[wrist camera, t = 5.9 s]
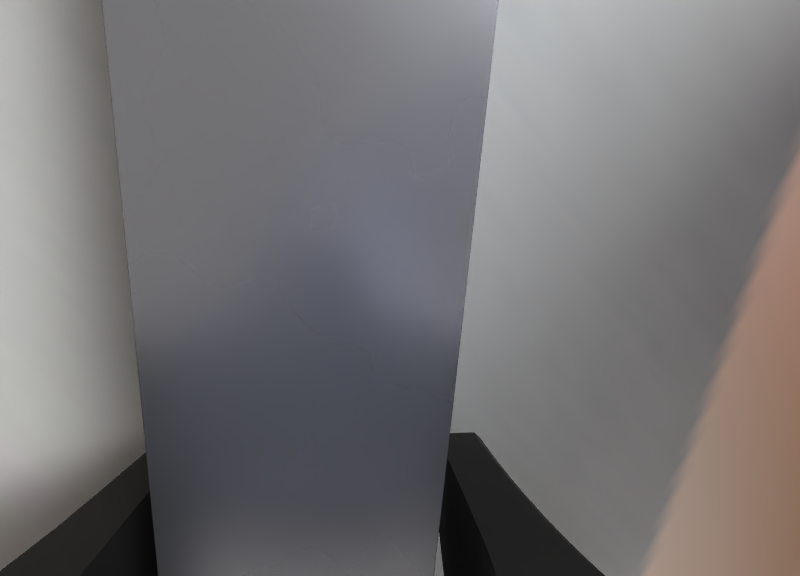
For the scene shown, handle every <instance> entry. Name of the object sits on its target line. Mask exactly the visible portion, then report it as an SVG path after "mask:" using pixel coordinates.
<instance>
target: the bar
mask: <svg viewBox="0 0 800 576" xmlns="http://www.w3.org/2000/svg"><path fill="white" fill-rule="evenodd" d="M102 7H103V17H104V27H105V37H106V48H107V58H108V68H109V78H110V88H111V99H112V109H113V119H114V129H115V139H116V150H117V160H118V170H119V180H120V190H121V201H122V211H123V221H124V231H125V242H126V252H127V262H128V272H129V282H130V293H131V303H132V313H133V323H134V333H135V344H136V354H137V364H138V374H139V384H140V395H141V405H142V415H143V425H144V435H145V446H146V456H147V466H148V476H149V486H150V497H151V507H152V517H153V527H154V538H155V548H156V558H157V568H158V576H434V569H435V560H436V551H437V543H438V534H439V525H440V516H441V507H442V498H443V489H444V480H445V471H446V462H447V454H448V445H449V436H450V427H451V418H452V409H453V400H454V391H455V382H456V374H457V365H458V356H459V347H460V338H461V329H462V320H463V311H464V302H465V293H466V285H467V276H468V267H469V258H470V249H471V240H472V231H473V222H474V213H475V205H476V196H477V187H478V178H479V169H480V160H481V151H482V142H483V133H484V125H485V116H486V107H487V98H488V89H489V80H490V71H491V62H492V53H493V44H494V36H495V27H496V18H497V9H498V0H102Z"/></svg>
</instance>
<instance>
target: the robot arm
mask: <svg viewBox="0 0 800 576" xmlns="http://www.w3.org/2000/svg"><path fill="white" fill-rule="evenodd" d="M439 535H440V544H441V553H442V561H443V570H444V576H605V575H604V574H603V573H601V572H600V571H599V570H598V569H597V568H596V567H595V566H594V565H593V564H592V563H590V562H589V561H588V560H587V559H586V558H585V557H584V556H583V555H582V554H581V553H580V552H579V551H578V550H577V549H576V548H575V547H574V546H573V545H572V544H571V543H570V542H569V541H568V540H567V539H566V538H565V537H564V536H563V535H562V534H561V533H560V532H559V531H558V530H557V529H556V528H555V527H554V526H553V525H552V524H551V523H550V522H549V521H548V520H547V519H546V518H545V517H544V515H543V514H542V513H541V512H540V511H539V510H538V509H537V508H536V507H535V505H534V504H533V503H532V502H531V501H530V500H529V499H528V498H527V496H526V495H525V494H524V493H523V492H522V491H521V490H520V488H519V487H518V486H517V485H516V484H515V483H514V481H513V480H512V479H511V478H510V476H509V475H508V474H507V473H506V472H505V470H504V469H503V468H502V467H501V465H500V464H499V463H498V461H497V460H496V459H495V458H494V456H493V455H492V454H491V452H490V451H489V450H488V448H487V447H486V446H485V444H484V443H483V442H482V440H481V439H480V438H479V437H478V436H477V435H476V434H475V433H450V436H449V445H448V454H447V462H446V471H445V480H444V489H443V498H442V507H441V516H440V525H439ZM0 576H158V568H157V558H156V548H155V538H154V527H153V517H152V507H151V497H150V486H149V476H148V466H147V456H146V453H145V454H144V455H142V456H141V457H140V458H139V459H138V460H136V461H135V462H134V463H133V464H132V465H130V466H129V467H128V468H127V469H126V470H125V471H123V472H122V473H121V474H120V475H119V476H117V477H116V478H115V479H114V480H113V481H112V482H110V483H109V484H108V485H107V486H106V487H105V488H103V489H102V490H101V491H100V492H99V493H98V494H96V495H95V496H94V497H93V498H92V499H90V500H89V501H88V502H87V503H86V504H84V505H83V506H82V507H81V508H80V509H78V510H77V511H76V512H75V513H74V514H72V515H71V516H70V517H69V518H68V519H66V520H65V521H64V522H63V523H62V524H60V525H59V526H58V527H57V528H55V529H54V530H53V531H52V532H50V533H49V534H48V535H46V536H45V537H44V538H43V539H41V540H40V541H39V542H37V543H36V544H35V545H33V546H32V547H31V548H30V549H28V550H27V551H26V552H24V553H23V554H22V555H21V556H19V557H18V558H17V559H15V560H14V561H13V562H11V563H10V564H9V565H8V566H6V567H5V568H4V569H2V570H1V571H0Z"/></svg>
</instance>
